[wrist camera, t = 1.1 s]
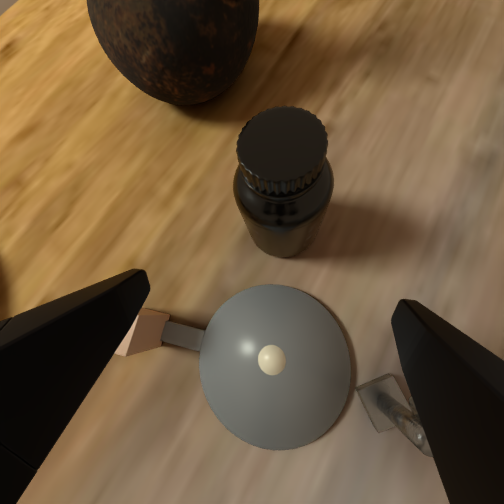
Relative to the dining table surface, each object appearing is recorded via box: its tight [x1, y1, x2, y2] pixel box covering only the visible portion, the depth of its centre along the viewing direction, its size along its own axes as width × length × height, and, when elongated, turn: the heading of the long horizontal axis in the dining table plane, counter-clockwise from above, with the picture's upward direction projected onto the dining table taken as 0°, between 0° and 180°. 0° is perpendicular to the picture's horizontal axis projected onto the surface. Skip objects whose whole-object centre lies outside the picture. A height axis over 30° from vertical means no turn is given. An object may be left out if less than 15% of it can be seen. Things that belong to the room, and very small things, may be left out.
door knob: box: [355, 373, 433, 457], centre depth 14 cm, size 4×3×9 cm
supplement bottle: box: [233, 106, 334, 257], centre depth 17 cm, size 7×7×12 cm
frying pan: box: [115, 284, 351, 450], centre depth 18 cm, size 16×18×5 cm
